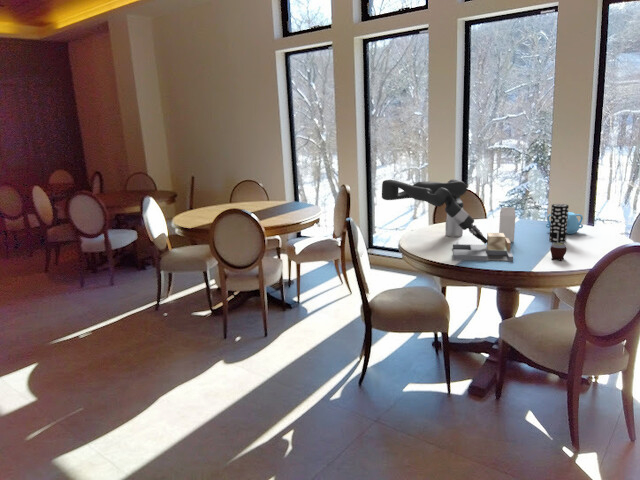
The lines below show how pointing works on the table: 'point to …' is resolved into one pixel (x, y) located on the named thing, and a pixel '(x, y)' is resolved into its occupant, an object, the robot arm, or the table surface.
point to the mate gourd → (558, 250)
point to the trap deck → (482, 252)
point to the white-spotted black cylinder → (558, 222)
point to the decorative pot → (570, 222)
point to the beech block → (496, 241)
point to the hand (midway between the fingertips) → (486, 242)
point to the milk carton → (507, 222)
